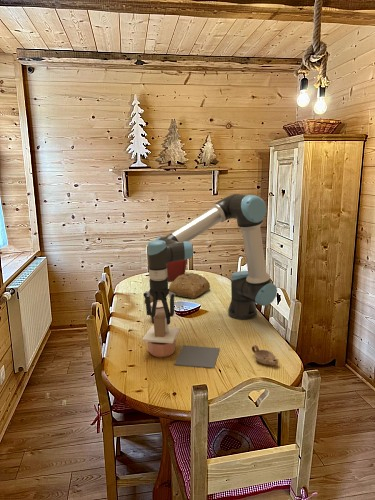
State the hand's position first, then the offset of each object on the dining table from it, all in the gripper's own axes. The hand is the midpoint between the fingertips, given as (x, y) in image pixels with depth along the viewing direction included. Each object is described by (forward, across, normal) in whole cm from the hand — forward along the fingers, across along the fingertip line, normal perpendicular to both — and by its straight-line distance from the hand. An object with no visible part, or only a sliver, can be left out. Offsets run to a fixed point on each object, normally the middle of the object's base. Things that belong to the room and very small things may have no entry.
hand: (161, 330), depth 158 cm
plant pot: (+10, -21, +102) cm, 105 cm away
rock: (+10, -22, +57) cm, 62 cm away
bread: (+11, -4, +76) cm, 77 cm away
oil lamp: (+10, +43, -1) cm, 44 cm away
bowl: (+10, 0, 0) cm, 10 cm away
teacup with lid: (+10, -11, +33) cm, 36 cm away
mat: (+10, +16, -2) cm, 19 cm away
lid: (+2, 0, 0) cm, 2 cm away
